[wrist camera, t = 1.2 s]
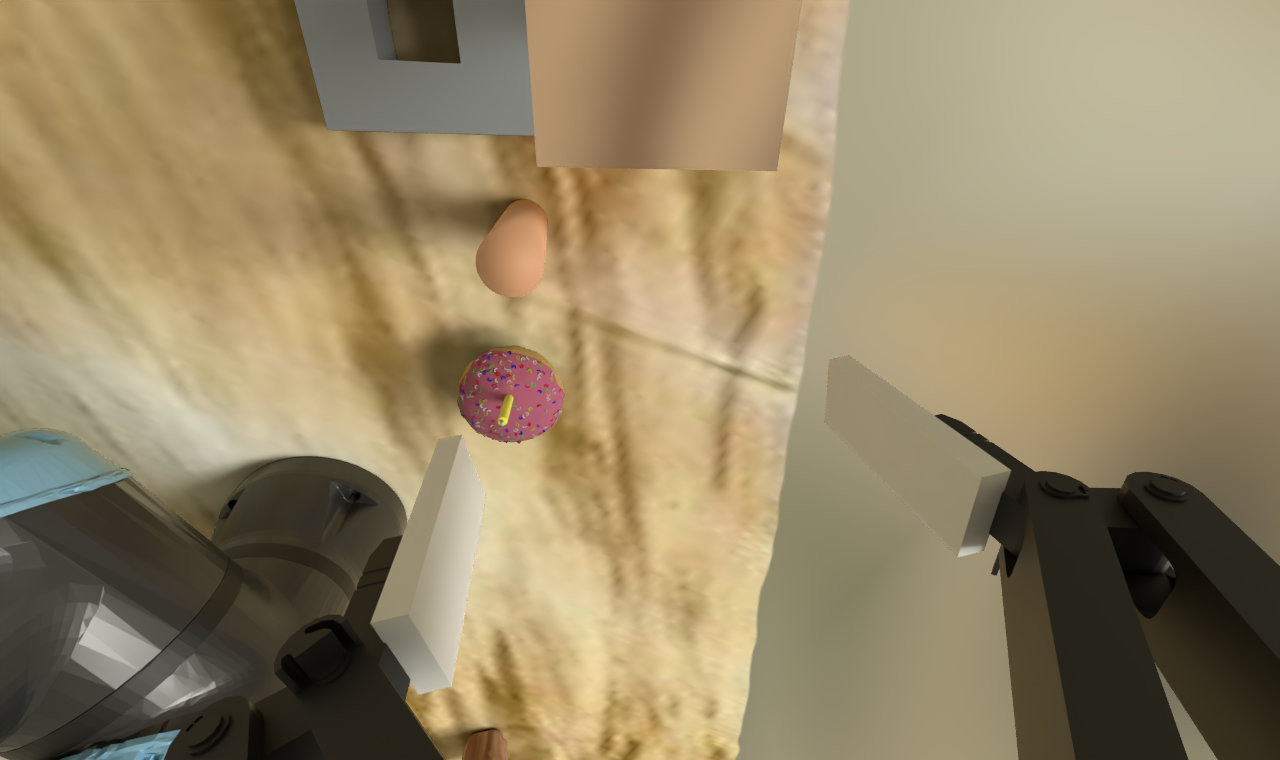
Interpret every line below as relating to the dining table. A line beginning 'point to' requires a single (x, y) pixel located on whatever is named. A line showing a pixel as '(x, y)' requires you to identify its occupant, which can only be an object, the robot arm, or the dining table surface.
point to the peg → (514, 250)
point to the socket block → (420, 70)
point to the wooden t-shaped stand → (660, 82)
